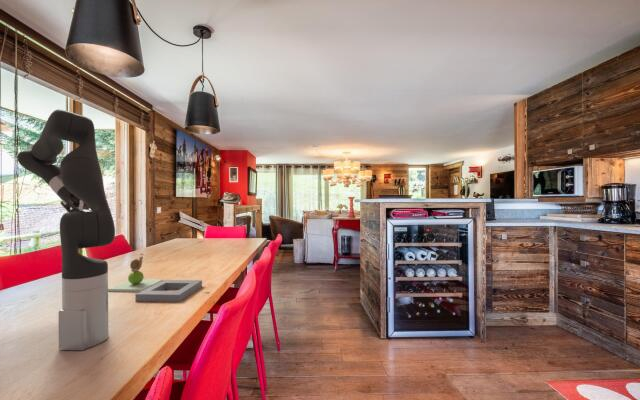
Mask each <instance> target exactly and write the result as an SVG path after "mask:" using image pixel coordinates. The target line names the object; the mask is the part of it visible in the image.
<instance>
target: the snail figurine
mask: <svg viewBox="0 0 640 400" xmlns="http://www.w3.org/2000/svg"><path fill="white" fill-rule="evenodd" d="M139 255H140V256H139V258H134V259H133V260H131V262H130V264H129V266H130V269H131V270H130V271H131V272H130V273H129V275H128V277H127V281H129V282H130V283H131V284H139V283H141V282H142V280H143V279H145V278H144V274H143V271H140V270H141V268H142V266H143V260H144V257H143V256H144V253H140V254H139Z"/></svg>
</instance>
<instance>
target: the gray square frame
mask: <svg viewBox="0 0 640 400" xmlns="http://www.w3.org/2000/svg"><path fill="white" fill-rule="evenodd" d="M202 287H203V280H202V279H200V280H199V279H197V280H196V279H193V280H192V279H190V280H189V279H188V280H187V279H163V281H161V282H159V283H157V284H155V285H153V286H151V287H149V288H147V289H145V290H143V291H141V292H136V293H135V295H134V296H135V297H134V299H135V302H158V303H159V302H168V303H169V302H172V303H173V302H174V303H176V302H177V303H178V302H179V303H180V302H182V301H183V300H184V299H185V298H187V297H188V296H190V295H191V294H193V293H195V292H196V291H197V290H199V289H200V288H202Z"/></svg>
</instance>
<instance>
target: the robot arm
mask: <svg viewBox="0 0 640 400" xmlns="http://www.w3.org/2000/svg"><path fill="white" fill-rule="evenodd" d="M63 141H65V142H71V143H74V144H77V145H78V146H77V147H76V148H74V149H73V150H71V151H69V152H68V153H67V154H66V155H65V156H63V158H62V160H61V161H60V165H58V164H56V163H57V161H58V156H59V155H60V154H61V152H63V150H64V143H63ZM96 143H97V142H96V131H95V125H94V122H93V120H92V119H91V118H89V117H87V116H84V115H81V114H78V113H75V112H72V111H68V110H64V109H60V108H59V109H55V110H54V111H52V112H51V114H50V115H49V117H48V118H47V120H46V122H45V125H44V126H43V129H42V131H41V133H40V136H39V138H38V140H36V141H35V143H34V144H33V145H32V147H31V149H26V150H22V151H20V152H19V153H18V154H17V156H16V157H17V161H18V163H19V164H20V166H21V167H23V168H24V169H25V170H27V171H28V172H31V174H34V175H35V176H37V177H39V178H41V179H42V180H43V181H44V182H45V183H46V184H47V185H48V186H49V188H51V190H52V192H54V193H55V194H56V195H57V196H58V197H59V198H60V199H61V201H60V205H61V206H62V207H63V208H64V210H65V211H66V212H65V213H63V214H62V216H61V218H60V220H59V238H60V239H59V240H60V247H61V309H60V310H59V311H58V312H57V313H58V350H59V351H84V350H86V349H88V348H91V347H96V346H98V345H99V344H102V343H103V342H104V341H107V339H108V338H109V292H108V289H109V265H108V262H107V261H106V260H104V259H99V258H94V257H93V258H92V257H88V256H86V255H83V254H81V253H80V252H79V249H87V248H99V247H104V246H105V247H106V246H109V245H110V244H112V243H113V242H114V239H115V237H116V236H115V235H116V226H115V222H114V219H113V218H114V217H113V214H112V211H111V208H110V206H109V203H108V199H107V196H106V192H105V188H104V187H105V186H104V178H103V174H102V170H101V165H100V162H99V158H98V157H99V156H98V152H97V144H96Z"/></svg>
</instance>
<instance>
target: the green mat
mask: <svg viewBox="0 0 640 400" xmlns="http://www.w3.org/2000/svg"><path fill="white" fill-rule="evenodd" d="M163 280H164V279H158V278H155V279H154V278H153V279H151V278H150V279H149V278H148V279H147V278H146V279H145V278H143V280H142V282H141V283H139V284H131V283H130V282H129V280H126V281H124V282H121V283H119V284H117V285H115V286H111V287H108V293H109V292H111V293H113V292H117V293H120V292H121V293H122V292H123V293H139V292H141V291H143V290H145V289H147V288H149V287H151V286H153V285H155V284H157V283H159V282H161V281H163Z"/></svg>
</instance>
